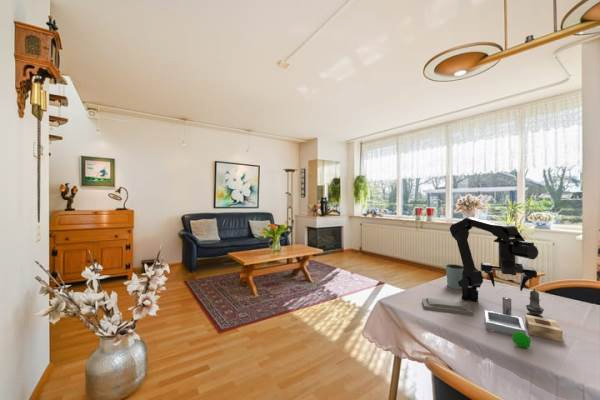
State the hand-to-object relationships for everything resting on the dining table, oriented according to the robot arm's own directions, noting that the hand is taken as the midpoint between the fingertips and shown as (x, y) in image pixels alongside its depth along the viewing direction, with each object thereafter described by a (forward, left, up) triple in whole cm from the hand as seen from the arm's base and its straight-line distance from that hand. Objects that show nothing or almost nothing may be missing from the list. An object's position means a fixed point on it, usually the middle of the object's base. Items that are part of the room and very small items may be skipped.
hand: (507, 288), depth 109 cm
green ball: (+2, -25, -13) cm, 28 cm away
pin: (0, 0, -12) cm, 12 cm away
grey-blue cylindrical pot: (-21, +29, -13) cm, 38 cm away
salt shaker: (+10, +7, -13) cm, 17 cm away
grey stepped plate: (-23, -5, -13) cm, 27 cm away
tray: (-2, -12, -12) cm, 17 cm away
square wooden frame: (+10, -9, -12) cm, 18 cm away
